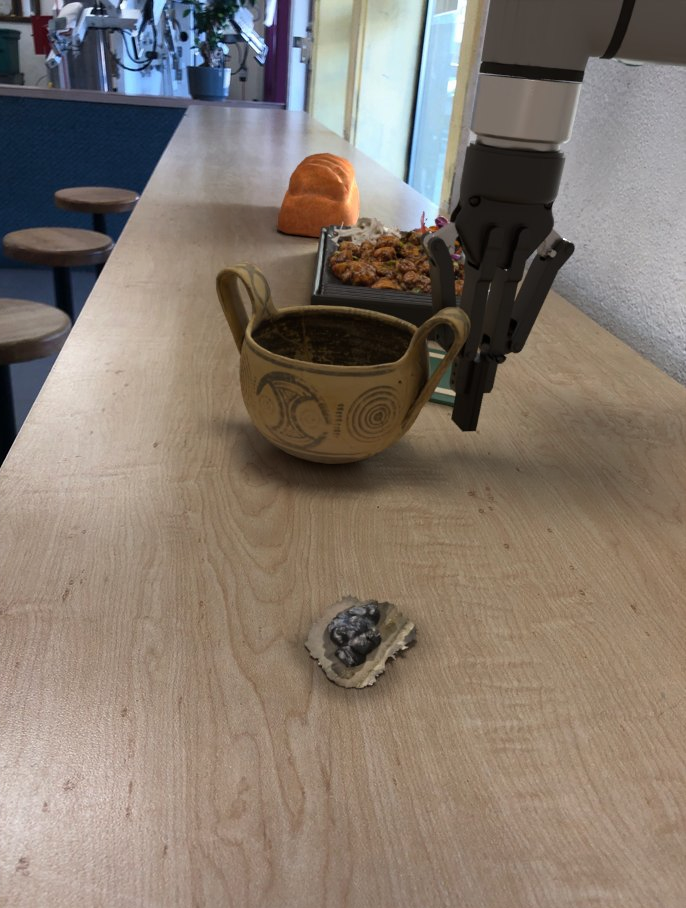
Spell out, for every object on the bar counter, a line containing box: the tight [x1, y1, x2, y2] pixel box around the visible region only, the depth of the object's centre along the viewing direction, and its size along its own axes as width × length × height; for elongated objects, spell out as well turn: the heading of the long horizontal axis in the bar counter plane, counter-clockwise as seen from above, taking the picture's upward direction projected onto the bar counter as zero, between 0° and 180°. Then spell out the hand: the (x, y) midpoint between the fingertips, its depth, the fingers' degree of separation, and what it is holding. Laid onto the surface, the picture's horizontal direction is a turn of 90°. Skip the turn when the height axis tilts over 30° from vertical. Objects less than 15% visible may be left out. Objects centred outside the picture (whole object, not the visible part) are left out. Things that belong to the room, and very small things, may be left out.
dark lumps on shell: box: [304, 593, 419, 689], centre depth 48 cm, size 7×8×2 cm
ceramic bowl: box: [215, 261, 471, 465], centre depth 69 cm, size 22×17×15 cm
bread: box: [276, 152, 361, 238], centre depth 161 cm, size 16×31×13 cm, turn 174°
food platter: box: [309, 210, 489, 341], centre depth 119 cm, size 45×25×10 cm, turn 178°
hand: (463, 424), depth 72 cm, fingers closed
